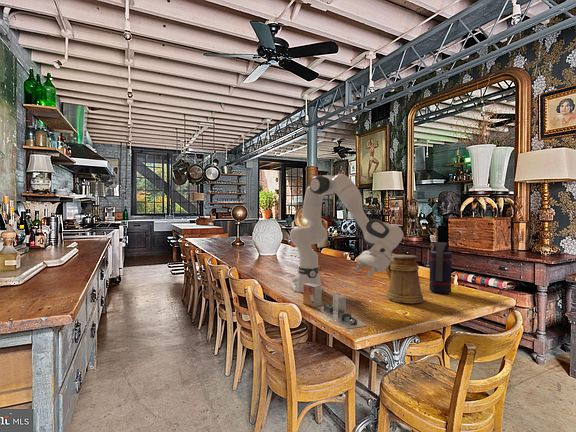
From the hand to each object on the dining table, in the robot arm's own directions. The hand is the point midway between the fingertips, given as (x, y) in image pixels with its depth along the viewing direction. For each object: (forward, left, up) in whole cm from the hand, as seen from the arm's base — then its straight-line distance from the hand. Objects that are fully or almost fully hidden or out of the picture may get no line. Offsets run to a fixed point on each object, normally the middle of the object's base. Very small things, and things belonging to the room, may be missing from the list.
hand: (361, 273), depth 160 cm
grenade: (-15, +65, -19) cm, 69 cm away
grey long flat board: (+2, -13, -19) cm, 23 cm away
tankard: (-12, +34, -19) cm, 40 cm away
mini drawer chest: (+2, -13, -18) cm, 23 cm away
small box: (-19, -17, -19) cm, 32 cm away
